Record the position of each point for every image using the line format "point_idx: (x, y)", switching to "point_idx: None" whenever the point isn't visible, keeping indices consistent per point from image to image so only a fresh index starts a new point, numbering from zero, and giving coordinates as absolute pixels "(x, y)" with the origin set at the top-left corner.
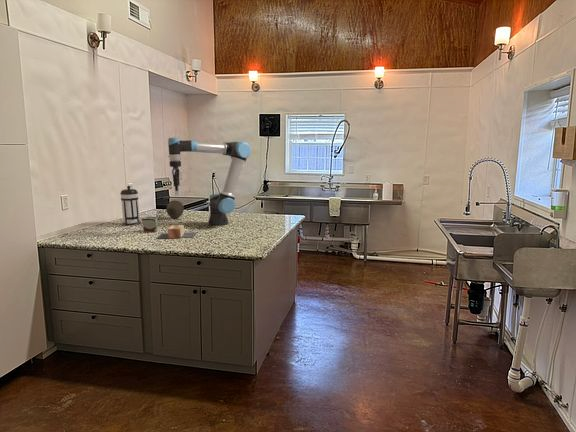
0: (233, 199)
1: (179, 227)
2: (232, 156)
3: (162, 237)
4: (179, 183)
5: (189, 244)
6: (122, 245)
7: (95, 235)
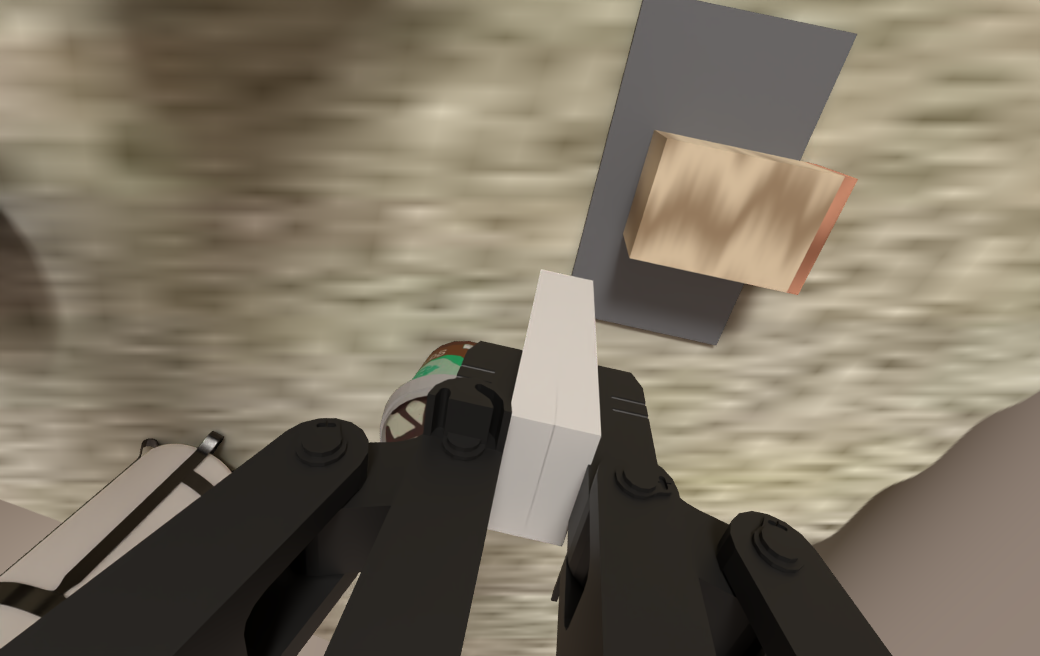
0: None
1: (782, 186)
2: None
3: (721, 307)
4: (332, 443)
5: None
6: (795, 507)
7: (478, 597)
